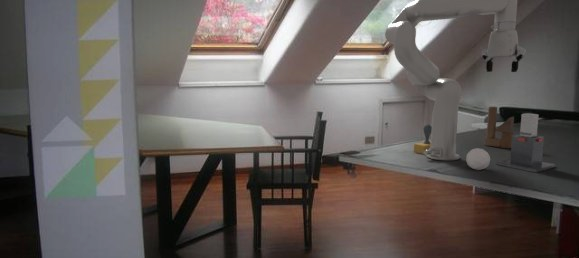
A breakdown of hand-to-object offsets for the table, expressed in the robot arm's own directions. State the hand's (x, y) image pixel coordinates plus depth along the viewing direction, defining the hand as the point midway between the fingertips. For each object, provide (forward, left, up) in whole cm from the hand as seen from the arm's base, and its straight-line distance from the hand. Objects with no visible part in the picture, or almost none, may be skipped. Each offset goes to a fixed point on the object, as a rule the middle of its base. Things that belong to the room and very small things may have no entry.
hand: (501, 71), depth 166 cm
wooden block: (+20, +10, -34) cm, 41 cm away
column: (-7, -16, -33) cm, 37 cm away
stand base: (-7, -16, -34) cm, 38 cm away
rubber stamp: (-16, +21, -35) cm, 44 cm away
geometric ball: (-26, -9, -34) cm, 44 cm away
